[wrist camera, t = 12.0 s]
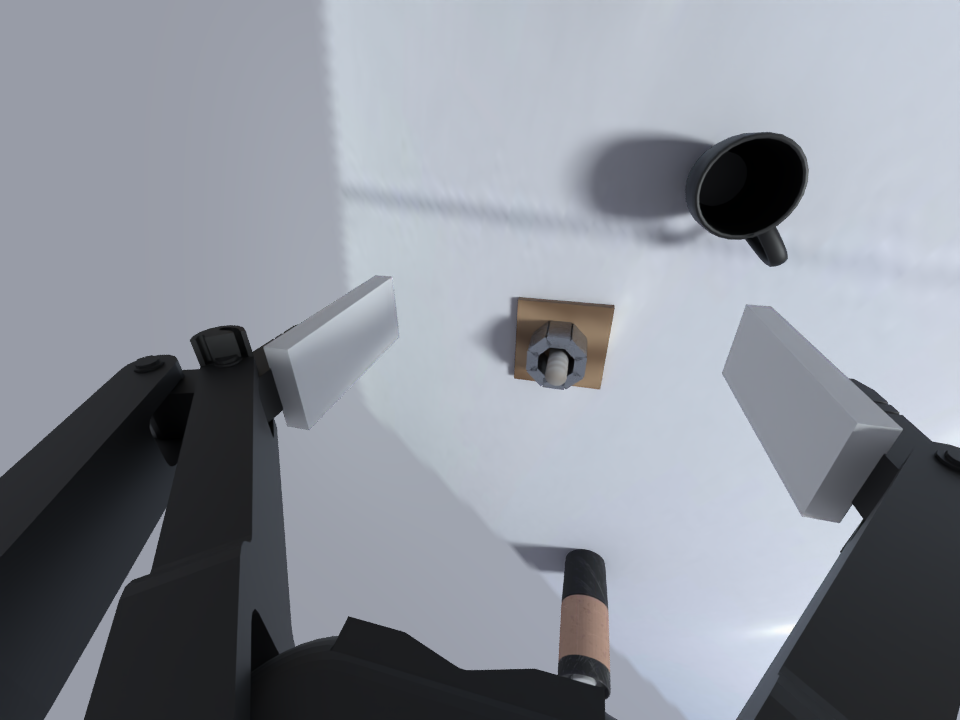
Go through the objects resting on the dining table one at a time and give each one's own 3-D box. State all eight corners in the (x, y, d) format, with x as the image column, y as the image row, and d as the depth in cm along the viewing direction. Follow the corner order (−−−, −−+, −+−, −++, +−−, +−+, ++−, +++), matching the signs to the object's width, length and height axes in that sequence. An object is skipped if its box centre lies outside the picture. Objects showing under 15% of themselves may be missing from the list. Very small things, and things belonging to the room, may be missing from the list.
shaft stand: (519, 297, 52) (506, 324, 44) (614, 305, 49) (618, 335, 42) (515, 374, 58) (503, 410, 50) (599, 385, 55) (601, 425, 48)
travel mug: (588, 543, 71) (587, 669, 54) (615, 567, 72) (622, 698, 56) (555, 556, 75) (545, 677, 58) (582, 579, 76) (580, 704, 59)
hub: (533, 318, 52) (528, 334, 47) (589, 323, 50) (589, 341, 46) (530, 365, 55) (525, 384, 51) (582, 372, 54) (581, 392, 49)
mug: (705, 264, 45) (731, 292, 37) (660, 167, 41) (677, 174, 33) (789, 224, 41) (837, 245, 33) (747, 113, 37) (790, 107, 29)
